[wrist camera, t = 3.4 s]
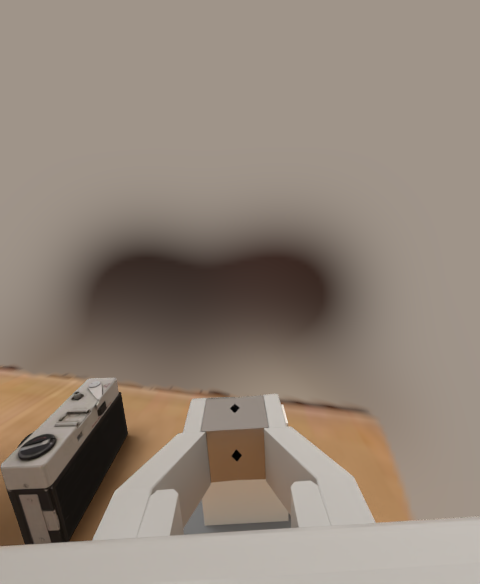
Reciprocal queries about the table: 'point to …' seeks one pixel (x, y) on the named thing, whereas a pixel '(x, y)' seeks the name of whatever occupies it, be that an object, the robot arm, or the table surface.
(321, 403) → the table surface
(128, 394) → the table surface
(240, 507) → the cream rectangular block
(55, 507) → the camera
